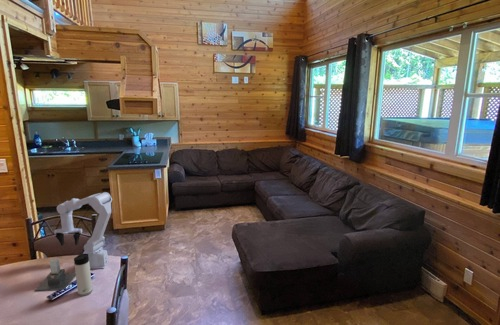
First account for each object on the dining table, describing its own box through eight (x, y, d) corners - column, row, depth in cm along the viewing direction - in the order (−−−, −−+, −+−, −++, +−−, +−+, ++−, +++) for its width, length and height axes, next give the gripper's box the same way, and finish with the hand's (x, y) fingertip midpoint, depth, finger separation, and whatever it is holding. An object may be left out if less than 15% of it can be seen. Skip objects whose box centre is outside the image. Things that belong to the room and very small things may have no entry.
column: (61, 273, 158) (58, 257, 156) (58, 277, 155) (55, 260, 153) (54, 274, 158) (52, 257, 156) (51, 277, 155) (49, 260, 153)
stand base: (77, 273, 165) (76, 264, 164) (65, 289, 151) (63, 279, 150) (50, 274, 163) (48, 265, 162) (35, 291, 150) (33, 281, 149)
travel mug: (86, 297, 146) (82, 259, 142) (75, 295, 147) (70, 258, 143) (95, 289, 152) (91, 253, 148) (84, 287, 153) (80, 251, 149)
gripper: (49, 226, 168) (52, 248, 171) (77, 225, 169) (80, 247, 172) (56, 220, 175) (59, 242, 178) (82, 220, 176) (85, 241, 179)
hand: (69, 244), depth 175 cm, fingers open, 7 cm apart
